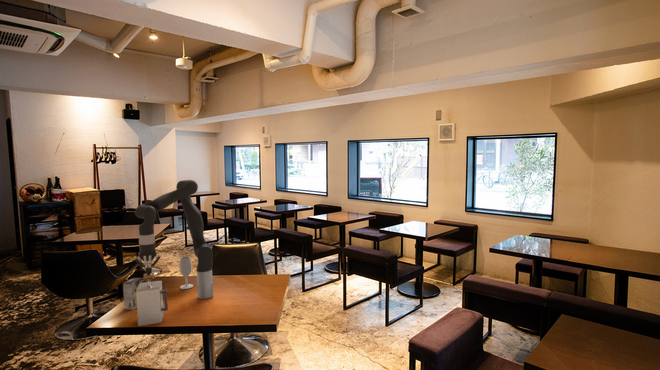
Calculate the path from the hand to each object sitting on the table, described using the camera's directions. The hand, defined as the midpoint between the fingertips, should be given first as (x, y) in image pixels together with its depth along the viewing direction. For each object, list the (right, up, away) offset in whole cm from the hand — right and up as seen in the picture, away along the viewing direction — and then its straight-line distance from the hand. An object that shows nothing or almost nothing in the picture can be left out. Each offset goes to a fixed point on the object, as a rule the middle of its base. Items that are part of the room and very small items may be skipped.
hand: (148, 274), depth 191 cm
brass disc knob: (0, -20, +1) cm, 20 cm away
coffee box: (-19, -25, +20) cm, 37 cm away
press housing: (+2, -25, +2) cm, 26 cm away
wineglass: (0, -22, +50) cm, 55 cm away
